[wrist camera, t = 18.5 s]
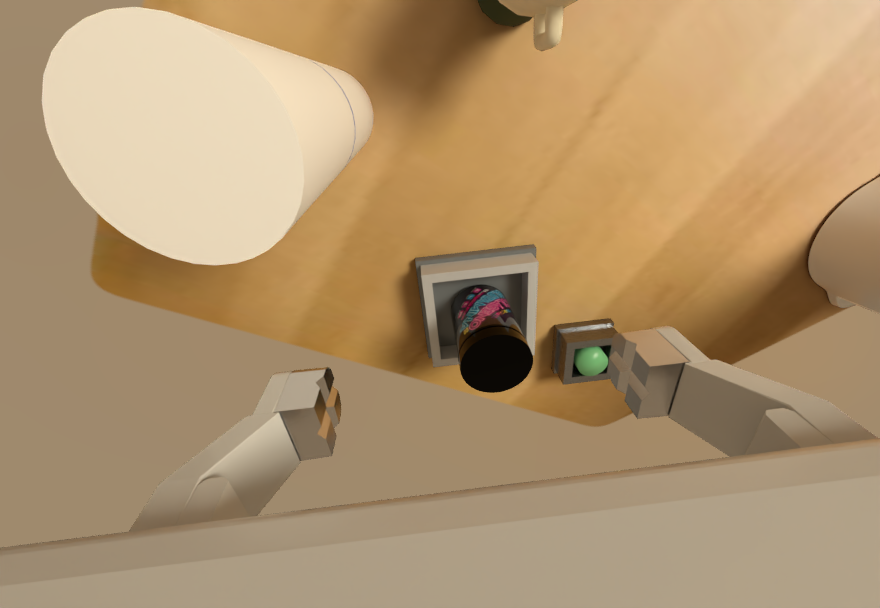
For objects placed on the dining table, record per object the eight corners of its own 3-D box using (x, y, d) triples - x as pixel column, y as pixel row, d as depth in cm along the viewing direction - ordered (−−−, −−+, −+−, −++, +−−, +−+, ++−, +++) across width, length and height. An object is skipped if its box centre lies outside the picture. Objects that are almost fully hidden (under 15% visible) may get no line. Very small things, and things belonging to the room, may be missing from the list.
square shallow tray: (533, 244, 40) (543, 256, 37) (530, 340, 47) (538, 358, 44) (415, 258, 40) (415, 271, 37) (428, 352, 47) (429, 371, 44)
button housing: (610, 318, 46) (624, 334, 43) (603, 362, 49) (615, 380, 46) (554, 325, 46) (564, 341, 43) (551, 368, 49) (560, 386, 46)
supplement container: (519, 297, 42) (548, 352, 33) (486, 339, 45) (504, 401, 36) (470, 271, 40) (487, 322, 31) (438, 317, 43) (445, 377, 34)
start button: (600, 338, 45) (610, 350, 43) (597, 361, 47) (606, 374, 45) (571, 341, 45) (579, 354, 43) (569, 364, 47) (576, 377, 45)
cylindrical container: (386, 139, 34) (345, 220, 12) (317, 169, 35) (167, 293, 13) (350, 52, 31) (203, -47, 9) (274, 87, 32) (-25, 76, 10)
